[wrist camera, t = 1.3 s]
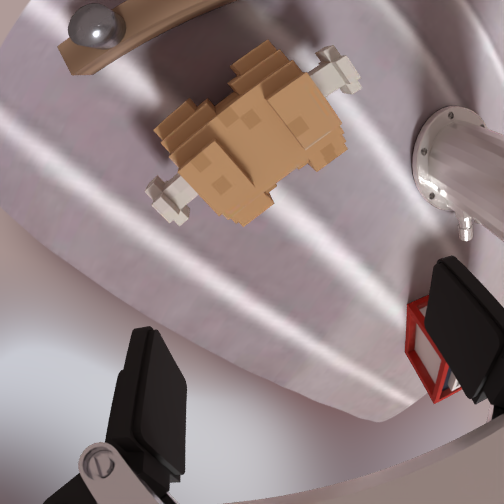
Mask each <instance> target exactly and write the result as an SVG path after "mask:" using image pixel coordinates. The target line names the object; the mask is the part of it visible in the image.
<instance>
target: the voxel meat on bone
mask: <svg viewBox="0 0 504 504" xmlns="http://www.w3.org/2000/svg"><path fill="white" fill-rule="evenodd" d="M315 54H316V55H317V56H318V58H319V59H320V61H321V62H320V63H318V64H319V66H317V67H315V68H314V69H312V70H311V71H310V72H308V73H307V72H302V71H301V70H300V69H299V67H298V66H297V65H296V63H295V62H294V61H293V60H291V61H289V60H288V59H287V57H286V56H285V55H284V53H283V52H282V51H281V50H280V49H279V50H276V48H275V47H274V46H273V45H272V44H271V42H270V41H269V40H266V41H265V42H263V43H262V44H260V45H259V46H257V47H256V48H255V49H253V50H252V51H250V52H249V53H247V54H246V55H245V56H243V57H242V58H240V59H239V60H238V61H236V62H235V63H234V64H232V65H231V66H230V68H231V69H232V70H233V71H234V73H235V74H236V75H237V76H236V77H235V78H234V79H232V80H231V81H230V82H228V83H227V84H228V85H229V86H230V87H231V88H232V89H233V91H234V92H232V93H231V94H230V95H229V96H227V97H226V98H225V99H223V100H222V101H221V102H220V103H218V104H217V105H216V106H214V105H213V104H212V103H211V102H210V100H209V99H208V98H207V99H206V100H205V101H204V102H202V103H201V104H200V105H199V106H196V104H195V103H194V102H193V101H192V100H191V99H190V98H189V99H188V100H187V101H185V102H184V103H183V104H182V105H181V106H180V107H178V108H177V109H176V110H175V111H174V112H173V113H171V114H170V115H169V116H168V117H167V118H166V119H165V120H164V121H162V122H161V123H160V124H159V125H158V126H157V127H156V128H155V129H154V130H153V131H154V132H155V133H156V134H157V135H158V136H159V137H160V138H161V139H162V142H161V144H162V145H163V146H164V147H165V148H166V149H167V150H168V151H169V153H170V155H169V158H170V159H171V160H172V161H173V162H174V163H175V164H176V165H177V166H178V167H179V169H178V173H177V174H176V175H175V176H174V177H173V178H172V179H171V180H169V181H166V182H163V181H162V180H161V179H160V178H159V177H158V175H157V176H156V177H155V178H154V179H153V180H152V181H151V182H150V183H149V184H148V186H147V188H146V190H145V193H146V194H147V195H148V196H149V197H150V198H151V199H152V200H153V203H152V206H153V207H154V208H155V209H156V210H157V211H158V212H159V213H160V214H161V215H162V216H163V217H164V218H165V219H166V220H167V221H168V222H169V223H171V222H172V221H173V220H174V221H175V222H176V223H177V224H178V225H179V226H181V225H182V224H183V223H184V222H185V221H187V220H188V219H189V213H190V208H189V207H188V206H187V205H186V204H188V203H189V202H190V201H191V200H192V199H194V198H195V197H196V196H197V195H198V194H199V195H200V197H201V198H202V199H203V200H204V201H205V202H206V203H207V204H208V205H209V206H210V207H211V208H212V209H213V210H214V211H215V212H216V213H217V214H218V216H220V215H221V214H223V215H224V216H225V217H226V218H227V220H229V219H230V218H231V219H232V220H233V221H234V222H235V223H236V224H237V223H238V222H239V223H240V224H241V225H242V226H243V227H244V226H245V225H247V224H248V223H249V222H251V221H252V220H253V219H255V218H256V217H257V216H259V215H260V214H261V213H262V212H264V211H265V210H266V209H268V208H269V207H270V206H272V205H273V204H274V202H273V200H272V198H271V195H270V193H269V192H270V191H271V190H272V189H274V188H275V187H276V186H277V185H276V183H277V182H278V181H280V180H281V179H282V178H284V177H285V176H286V175H288V174H289V173H290V172H292V171H293V170H294V169H296V168H298V169H300V168H302V167H303V166H305V165H306V164H307V163H308V164H309V165H310V166H311V167H312V168H313V169H314V170H315V171H316V172H317V171H319V170H320V169H321V168H323V167H324V166H326V165H327V164H328V163H330V162H331V161H332V160H334V159H335V158H336V157H338V156H339V155H341V154H342V153H343V152H345V151H346V150H347V147H346V145H345V144H344V143H345V142H346V140H345V139H344V137H343V136H342V134H344V131H343V130H342V128H341V127H340V125H341V124H342V122H341V121H340V119H339V118H338V116H337V115H336V113H335V112H334V110H333V109H332V107H331V106H330V104H329V103H328V101H327V100H326V97H327V96H328V95H330V94H331V93H333V92H334V91H336V90H337V89H339V88H340V89H341V91H342V92H343V93H347V94H354V93H355V92H357V91H358V90H360V89H361V88H362V87H361V85H360V84H359V82H358V79H360V78H361V77H360V75H359V74H358V72H357V71H356V69H355V68H354V66H353V65H352V63H351V62H350V60H349V59H348V57H347V56H346V55H345V56H341V55H340V54H339V52H338V51H337V49H336V48H335V47H334V45H332V46H327V47H324V48H322V49H321V50H319V51H318V52H316V53H315Z"/></svg>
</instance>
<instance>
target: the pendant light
mask: <svg viewBox="0 0 504 504" xmlns="http://www.w3.org/2000/svg"><path fill="white" fill-rule="evenodd" d="M428 299H429V295H427V296H425V297H423V298H420V299H418V300H416V301H413V302H411V303H409V304H407V321H406V341H405V353H406V355H407V357H408V359H409V360H410V362H411V364H412V365H413V367H414V369H415V371H416V372H417V374H418V376H419V378H420V380H421V381H422V383H423V385H424V387H425V389H426V390H427V392H428V394H429V396H430V398H431V400H432V401H433V403H434V404H435V403H437V402H439V401H441V400H443V399H445V398H447V397H449V396H451V395H453V394H454V393H456V392H458V391H460V390H461V389H462V388H461V386H460V384H459V383H458V381H457V379H456V377H455V376H454V374H453V372H452V371H451V369H450V367H449V366H448V364H447V363H446V361H445V359H444V358H443V356H442V355H441V353H440V351H439V350H438V348H437V347H436V345H435V343H434V342H433V340H432V339H431V337H430V336H429V334H428V333H427V331H426V329H425V326H424V319H425V314H426V309H427V304H428Z"/></svg>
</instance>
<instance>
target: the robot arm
mask: <svg viewBox="0 0 504 504" xmlns="http://www.w3.org/2000/svg"><path fill="white" fill-rule="evenodd" d="M412 168H413V176H414V180H415V183H416V186H417V188H418V190H419V192H420V194H421V195H422V196H423V198H424V199H425V200H426V201H428V202H429V203H430V204H431V205H433V206H434V207H436V208H438V209H441V210H453V211H455V215H456V218H457V219H459V224H458V229H459V238H460V239H461V240H462V241H469V240H471V239H472V238H473V227H472V218H473V219H474V221H475V223H477V224H481V225H483V226H484V227H485V228H487V229H488V230H489V231H491V232H492V233H493V234H494V235H496V236H497V237H498V238H499V239H501V240H502V241H503V242H504V135H502V134H500V133H497V132H494V131H492V130H489V129H488V128H487V127H486V125H485V123H484V121H483V120H482V119H481V118H480V116H479V115H477V114H476V113H475V112H474V111H472V110H470V109H467V108H464V107H460V106H449V107H445V108H442V109H440V110H439V111H437V112H435V113H434V114H433V115H432V116H431V117H430V118H429V119H428V120H427V121H426V123H425V124H424V125H423V127H422V129H421V131H420V133H419V135H418V137H417V140H416V143H415V146H414V152H413V163H412ZM424 326H425V329H426V331H427V333H428V334H429V336H430V337H431V339H432V340H433V342H434V343H435V345H436V347H437V348H438V350H439V351H440V353H441V355H442V356H443V358H444V359H445V361H446V363H447V364H448V366H449V367H450V369H451V371H452V372H453V374H454V376H455V377H456V379H457V381H458V383H459V384H460V386H461V388H462V389H463V391H464V393H465V395H466V396H467V397H468V398H469V399H472V400H473V402H474V404H477V403H479V402H481V401H483V400H485V399H487V398H488V400H489V402H490V407H489V412H488V417H487V423H486V424H484V425H482V426H480V427H479V428H477V429H475V430H473V431H471V432H469V433H467V434H465V435H463V436H461V437H460V438H457V439H455V440H453V441H451V442H449V443H447V444H445V445H443V446H441V447H438V448H436V449H434V450H432V451H429V452H427V453H425V454H422V455H420V456H417V457H415V458H413V459H410V460H408V461H405V462H403V463H400V464H397V465H394V466H392V467H389V468H386V469H383V470H380V471H377V472H374V473H372V474H368V475H365V476H362V477H359V478H355V479H352V480H349V481H345V482H341V483H337V484H334V485H330V486H326V487H322V488H317V489H313V490H309V491H304V492H299V493H294V494H289V495H284V496H278V497H272V498H266V499H259V500H252V501H244V502H234V503H225V504H504V308H503V307H502V306H501V304H500V303H499V302H498V301H497V300H496V299H495V298H494V297H493V295H492V294H491V293H490V292H489V291H488V290H487V289H486V288H485V287H484V286H483V285H482V284H481V283H480V281H479V280H478V279H477V278H476V277H475V276H474V275H473V274H472V273H471V272H470V271H469V270H468V269H467V268H466V267H465V266H464V265H463V264H462V263H461V262H460V261H459V260H458V259H457V258H456V257H455V256H448V257H445V258H442V259H439V260H438V261H437V264H436V265H435V266H434V268H433V275H432V281H431V287H430V293H429V299H428V304H427V309H426V314H425V319H424ZM186 399H187V385H186V381H185V378H184V376H183V375H182V373H181V371H180V369H179V368H178V366H177V364H176V362H175V361H174V359H173V357H172V355H171V353H170V351H169V350H168V348H167V346H166V344H165V342H164V340H163V338H162V337H161V335H160V333H159V331H158V330H153V328H152V327H150V326H148V327H142V328H136V329H134V330H133V331H132V335H131V339H130V343H129V347H128V351H127V356H126V360H125V365H124V369H123V370H121V371H120V373H119V375H118V378H117V383H116V387H115V392H114V397H113V402H112V407H111V412H110V417H109V422H108V428H107V433H106V439H105V443H103V442H99V443H94V444H92V445H90V446H88V447H87V448H86V449H85V450H84V451H83V453H82V454H81V456H80V459H79V463H78V465H79V472H80V473H79V474H78V475H76V476H75V477H74V478H73V479H71V480H70V481H69V482H68V483H66V484H65V485H64V486H63V487H61V488H60V489H59V490H58V491H56V492H55V493H54V494H53V495H52V496H50V497H49V498H48V499H47V500H46V501H45V502H44V503H43V504H179V503H178V502H177V501H176V500H175V499H174V497H172V495H171V494H170V493H169V492H168V491H169V488H170V487H169V486H170V485H169V484H170V483H172V482H180V475H183V474H184V473H185V435H186Z"/></svg>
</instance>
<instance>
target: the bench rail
mask: <svg viewBox="0 0 504 504" xmlns="http://www.w3.org/2000/svg"><path fill="white" fill-rule="evenodd" d="M234 1H237V0H127V1H125V2H124V3H122V4H120V5H118V6H117V7H115V8H113V9H112V10H110V9H109V8H107V7H105V6H104V5H101V4H98V3H92V4H88V5H85V6H83V7H81V8H80V9H79V10H78V11H76V12H75V14H74V15H73V16H72V18H71V20H70V22H69V26H68V34H69V38H68V39H67V40H65V41H64V42H63V43H61V44H60V45H59V46H57V47H58V49H59V51H60V53H61V55H62V57H63V59H64V61H65V63H66V65H67V67H68V69H69V71H70V73H71V75H93V74H95V73H96V72H98V71H99V70H101V69H102V68H104V67H105V66H107V65H108V64H110V63H112V62H113V61H115V60H116V59H118V58H120V57H121V56H123V55H125V54H126V53H128V52H130V51H131V50H133V49H135V48H136V47H138V46H140V45H142V44H144V43H145V42H147V41H149V40H151V39H153V38H155V37H156V36H158V35H160V34H162V33H164V32H166V31H168V30H170V29H172V28H174V27H176V26H178V25H180V24H182V23H184V22H187V21H189V20H191V19H193V18H195V17H197V16H200V15H202V14H204V13H207V12H209V11H211V10H214V9H216V8H219V7H221V6H224V5H226V4H229V3H231V2H234Z"/></svg>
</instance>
